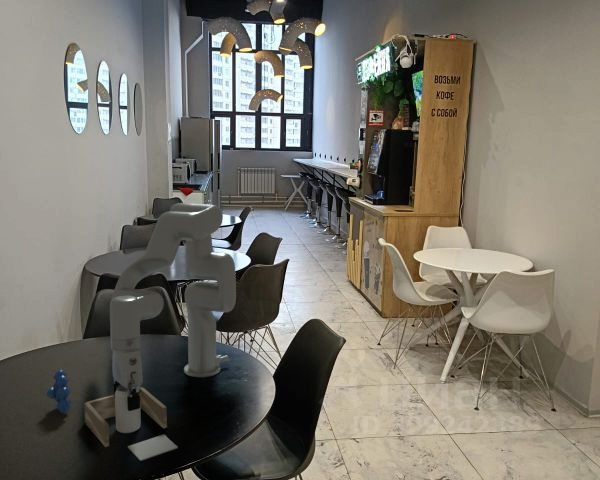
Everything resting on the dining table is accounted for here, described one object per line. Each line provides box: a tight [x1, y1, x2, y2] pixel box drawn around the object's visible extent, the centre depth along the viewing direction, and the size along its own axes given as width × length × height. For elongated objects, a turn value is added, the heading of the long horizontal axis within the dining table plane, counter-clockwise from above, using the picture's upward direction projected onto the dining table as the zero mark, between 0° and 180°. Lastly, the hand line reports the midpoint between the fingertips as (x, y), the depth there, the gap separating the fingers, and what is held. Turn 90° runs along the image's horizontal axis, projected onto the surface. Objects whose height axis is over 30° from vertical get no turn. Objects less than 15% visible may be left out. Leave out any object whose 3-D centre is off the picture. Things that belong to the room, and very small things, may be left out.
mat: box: [127, 434, 178, 462], centre depth 141 cm, size 10×8×1 cm
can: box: [115, 383, 142, 434], centre depth 149 cm, size 6×6×12 cm
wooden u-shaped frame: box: [83, 386, 168, 448], centre depth 151 cm, size 17×16×6 cm
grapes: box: [45, 369, 72, 415], centre depth 158 cm, size 12×7×12 cm, turn 32°
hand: (126, 402), depth 149 cm, fingers open, 9 cm apart
